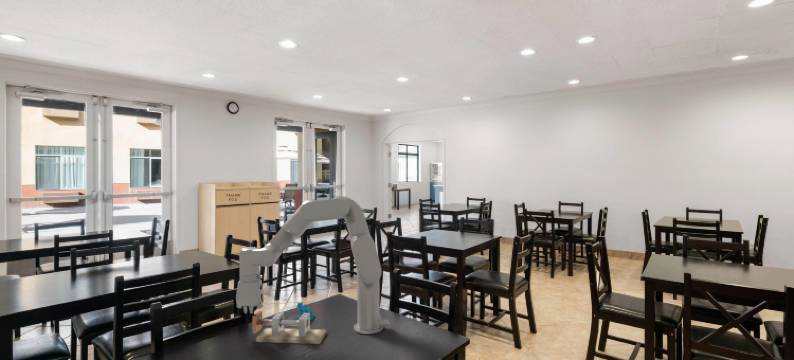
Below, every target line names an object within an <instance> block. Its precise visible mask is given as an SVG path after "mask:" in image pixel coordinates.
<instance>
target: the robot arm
mask: <svg viewBox="0 0 794 360" xmlns="http://www.w3.org/2000/svg"><path fill="white" fill-rule="evenodd" d="M340 219H343V220H344V222H345V225H346V229H347V232H348V235H349V239H350V247H351V251H352V255H353V258H354V262H355V265H356V282H357V285H356V287H357V288H356V289H357V293H356V297H357V298H356V299H357V301H356V303H357V304H356V305H357V306H356V308H357V309H356V310H357V312H356V313H357V315H356V316H357V323H354V325H353V330H354V332H356V333H359V334H362V335H372V334H373V335H374V334H378V333H380V332H382V331H383V330H384V329H383V328H384V326H385V327H390V324H391V323H390V320H388V319H383V318H382V316H381V315H380V278H381V276H382V273H383V272H382V267H381V266H382V265H381V262H380V259H379V256H378V255H379V254H378V251H377V247H376V244H375V242H374V239H373V237H372V235H371V234H370V230H369V226H368V223H367V220H366V216H365V214H364V211H363V209H362V208H361V206H360V205H359V204H358V203H357V201H355V200H354V199H353V198H350V197H347V196H343V195H337V196H334V197H333V198H326V199H314V198H310V199H309V198H308V199H306V200H305V201H303V202H302V204H301V205H300V206H298V208H297V209H296V210H295V211H294V213H292V215H291V216H289V218H288V219H287V220H286V221H285V222H283V224H282V226H281V228H280V229H279V231H277V232H276V234H275V235H274V236H273V237H272V238H271V239H270V240H269V241H268V242H267V243H266V244H265V246H264V247H262V248H260V249H259V248H258V247H255V246H249V247H248V246H246V247H243V248H241V249H240V250H239V256H238V257H239V281H238V282H237V286H236V287H237V288H236V292H235V293H236V294H235V301H236V308H238V309H242V311H243V313H244V314H245V322H246V324H252V323H253V321H252V316H253V315H255V311H257V310H261V309H262V308H264V305H263V303H264V301H265V295H264V285H263V283H262V282H263V281H262V279H263V274H260V267H263V268H264V267H265V268H266V267H272V266H273V265H274V264H276V262H277V260H278V258H279V257H280V256H281V255H282V254H283V253H284V252H285V251H286V250H287V248H288V247H289V246H291V244H292V243H294V242H295V241H296V240H298V239H299V238H300V237H301V236H302V235H303V234H304V233H305V231H306V230H307V229H308V228H309V227H310V226H312V224H313V223H314V222H322V221H323V222H325V221H333V220H340Z"/></svg>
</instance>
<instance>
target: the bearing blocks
mask: <svg viewBox="0 0 794 360" xmlns="http://www.w3.org/2000/svg"><path fill="white" fill-rule="evenodd" d="M271 320H272V325H271V328H272V337H279V335H280V334H281V333H282V332H283V331H284V329H285V326H280V320H285V312H283V311H282V312H281V311H279V312H277V313H276V314H275V315H274V316H272V317H271ZM298 329H299V338H305V337H306V336H307V334H308V333H309V331H310V329H311V320H310V313H303V315H302V316H301V317H300V318H299V326H298Z"/></svg>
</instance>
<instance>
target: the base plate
mask: <svg viewBox="0 0 794 360" xmlns="http://www.w3.org/2000/svg"><path fill="white" fill-rule="evenodd" d="M326 334H327V329H317V328H315V329H314V328H313V329H311V328H310V331H309V333H308V334H307V336H306V337H305V338H299V328H284V331H283V332H282V333H281V334H280V335H279V337H272V327H265V328H264V329H263V331H261V332H260V333H259V334H258V335H257V336H256V337H255V342H256V343H276V344H277V343H279V344H280V343H281V344H282V343H283V344H285V343H286V344H314V345H316V344H317V345H319V344H321V343H322V341H323V339H324V338H325V336H326Z"/></svg>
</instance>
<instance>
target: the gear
mask: <svg viewBox="0 0 794 360" xmlns="http://www.w3.org/2000/svg"><path fill="white" fill-rule="evenodd" d="M296 308H297V311H298V312H300V315H298V316H297V317H296V320H299V318H300V317H301V316H302V315H303V313H310V321H313V320H314V316H315V315H314V314H313V311H311V307H310V306H307V304H304V303H303V302H297V304H296Z"/></svg>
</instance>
